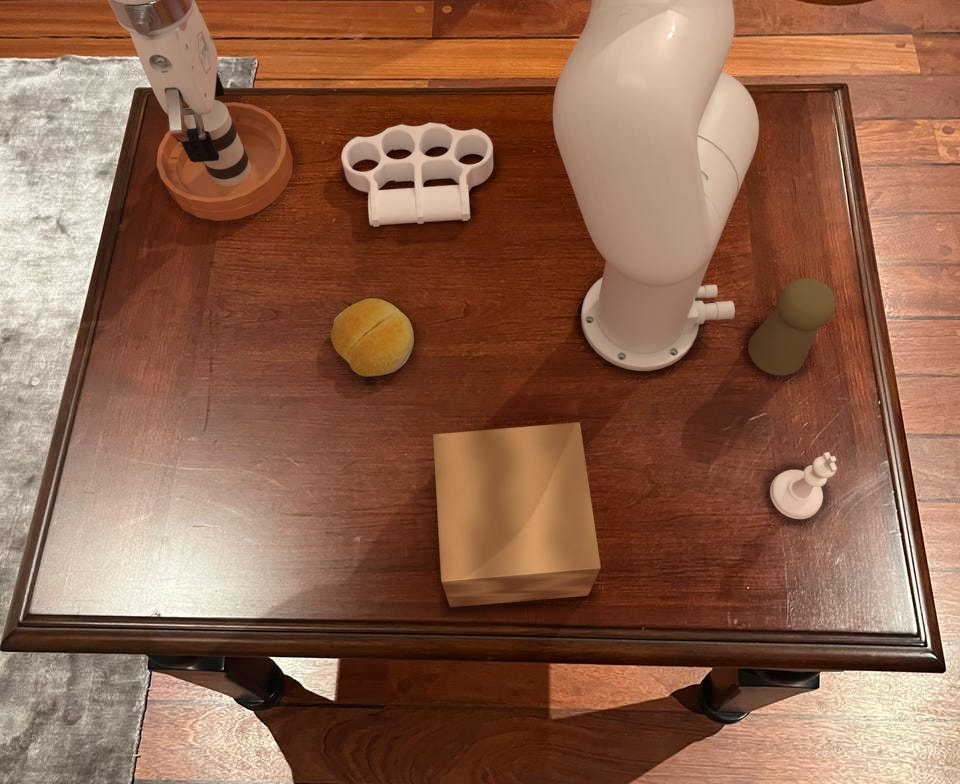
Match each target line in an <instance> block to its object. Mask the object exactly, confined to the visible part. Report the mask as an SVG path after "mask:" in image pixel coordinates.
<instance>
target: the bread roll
mask: <svg viewBox="0 0 960 784" xmlns="http://www.w3.org/2000/svg"><path fill="white" fill-rule="evenodd" d="M330 340H331V343H332V346H333V348H334V350H335V352H336V353H337V354H338V355H339V356H340V357H341V358H343V359H344V360H345V361H346V362H347V363H348V364H349V367H350V369H351V370H352V371H353V372H354V373H356V374H357V375H358V376H361V377H367V378H368V377H378V376H379V377H380V376H384V375H390V374H394V373H395V372H397V371H399V370H400V369H401V368H402V367H403V366H404V365H405V364H406V362H407V361H408V360H409V357H410V356H411V354H412V352H413V348H414V343H415V337H414V328H413V326H412V323H411V321H410V319H409V318H408V317H407V316H406V314H405V313H403V312H402V311H401V310H400V309H399V308H397V307H396V305H394V304H392V303H390V301H386V300H384V299H381V298H375V297H374V298H372V297H370V298H365V299H362V300H360V301H358V302H356V303H352V304H351V305H350V306H348V307H347V308H345V309H344V310H343V311H342V312H340V313H338V315H337V316H336V317H335V318H334V319H333V325H332V327H331V331H330Z"/></svg>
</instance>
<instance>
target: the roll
mask: <svg viewBox="0 0 960 784" xmlns="http://www.w3.org/2000/svg"><path fill="white" fill-rule="evenodd" d="M223 103H224V102H222V101H220V100H217V99H214V105H213V108H212V110H211V112H210V113H209V114H202V119H203V124H204V129H205V131H209V133H210V136H211V138H212V140H213V142H214V145H215V147H216V149H217V151H218V153H219V160H217V161H206V162H203V163H204V165H205V167H206V169H207V171H208V173H209V174H210V176H211V178H212V180H213V181H214V182H215V183H216V184H218V185H221V186H234V185H237V184H240V183H241V182H243V181H244V180H245V179H246V178H247V177H248V176H249V174H250V171H251V164H250V162H249V159H248V156H247V154H246V151H245V149H244V146H243V144H242V143H241V140H240V138H239V136H238V133H237V130H236V127H235V125H234V122H233V120H232V118H231V116H230V114H229V112H228V109H227V107H226V106H225V105H224V104H223ZM188 108H191V107H190V106H189V107H188ZM184 119H185V124H186V126H187V127H188V129H192V128H196V125H195V120H194V115H184Z"/></svg>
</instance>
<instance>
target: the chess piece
mask: <svg viewBox="0 0 960 784" xmlns="http://www.w3.org/2000/svg"><path fill="white" fill-rule="evenodd" d="M821 455H822V456H818V457H816V458H815V459H814V460H813V462H812V464H809V465H807V466H806V467H805V468H804V470H800V469H789V470H788V469H787V470H784V471H781V472H780V473H779V474H778V475H776V476H775V477H774V478H773V480H772V482H771V484H770V488H769V495H770V496H769V497H770V500H771V501H772V504H773V505H774V507H775V508H776V510H778V511H779V512H780V513H781V514H782V515H784V516H786V517H788V518H791V519H795V520H805V519H808V518H811V517H813V516H814V515H816V513H817V512H818V511H819V510H820V508H821V507H822V505H823V500H824V494H823V490H822V487H823V486H825V484H826V483H827V481H828V479H829V478H831V477H833V476H834V475H835V474H836V472H837V471H838V467H837V464H836V462H837V458H836V456H835V455H832V456H831V454H830V452H829V451H827V452H823V454H821Z"/></svg>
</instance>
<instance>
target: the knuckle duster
mask: <svg viewBox="0 0 960 784" xmlns="http://www.w3.org/2000/svg"><path fill="white" fill-rule="evenodd" d="M433 148H445V149H447V152H445V153H443V154H442V155H439V156H429V155H426V152H428V151H430V150H431V149H433ZM397 150H404V151H405V150H406V151H408V152H410V153H411V154H410V155H408V156H407V157H405V158H400V159H396V158H391V157H389V156H387V155H388V153H389V152H390V151H397ZM467 155H479V156H481V157H482V160H481V161H479V162H477V163H474V164H473V163H472V164H465V163H463V162H460V159H462V158H464V157H465V156H467ZM340 159H341V164H342V168H343V172H344V176H345V180H346V181H347V183H348V184H349V186H351V187H352V188H354V189H355V190H357V191H360V192H365V193H368V195H367V199H368V200H367V208H368V223H369V225H370V226H372V227H373V228H375V227H377V228H378V227H380V226H386V225H387V226H388V225H401V224H415V223H417V224H418V225H420V224H424V223H430V222H447V221H448V222H449V221H463V222H467V221H469V220H471V209H470V196H469V195H470V191H471V189H472V188H473V187H476V186H479V185H481V184H483V183H484V182H486V181H487V180H488V179H489V178H490V176H491V175H492V172H493V169H494V146H493V142H492V140H491V138H490V137H489V136H488V135H487V134H486V133H485V132H483V131H482V130H480V129H477V128H472V129H467V130H466V129H465V130H459V129H456V128H455V129H454V128H452V127H450V126H448V125H447V124H443V123H437V122H428V123H427V122H426V123H425V124H421V125H416V126H413V125H412V126H411V125H406V124H403V123H402V124H398V125H395V126H391V127H388V128H387V127H386V129H385V130H383V131H382V132H380V133H378V134H375V135H373V136H365V137H364V136H356V137H354V138H352V139H351V140H349V141H348V142H347V143H346V144H345V146H344V147H343V149H342V151H341V155H340ZM364 160H371V161H374V162H376V163H377V166H375V167H374V168H373V169H371V170H368V171H358V170H356V169H353V167H354V166H355V165H356V164H357V163H359V162H360V161H364ZM444 179H445V180H446V179H450V180H453V181H454V182H455V183H457V184H455V185H454V184H451V185H436V186H424V185H425V182H427V181H429V180H444ZM390 181H394V183H399V182H400V183H401V182H414V183H413V184H414V187H407V188H393V189H381V188H382V187H384V186H385V185H386V183H388V182H390Z"/></svg>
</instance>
